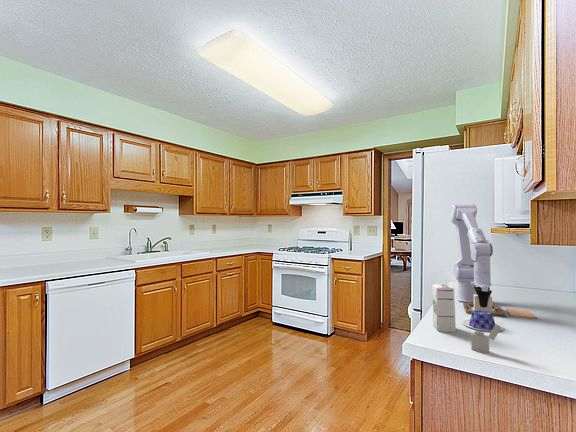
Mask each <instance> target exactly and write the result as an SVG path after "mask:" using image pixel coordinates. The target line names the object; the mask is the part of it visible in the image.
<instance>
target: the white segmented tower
mask: <svg viewBox="0 0 576 432" xmlns="http://www.w3.org/2000/svg"><path fill="white" fill-rule="evenodd" d="M455 303H456V302H455V288H454V286H453V287H452V286H451V285H450V284H444V283H443V284H441V283H439V284H432V306H433V307H432V313H433V315H432V317H433V319H432V320H433V327H434V328H435V329H436V331H438V332H445V333H446V332H447V333H456V327H457V326H456V325H457V324H456V304H455Z"/></svg>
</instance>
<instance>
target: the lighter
mask: <svg viewBox="0 0 576 432" xmlns="http://www.w3.org/2000/svg"><path fill="white" fill-rule="evenodd" d="M498 324H499V323H496V325H495V326H494V328H493V330H490V333H489V334H488V335H486V334H485V331H482V330H476V331H474V332H472V333H471V335H470V337H471V338H470V340H471V343H470V344H471V351H474V352H479V353H485V354H489V353H490V340H492V341H495V339H496V338H497V336H498V334H499V333H500V331H501V330H500V329H501V326H502V325H501V326H499V325H500V324H499V325H498Z"/></svg>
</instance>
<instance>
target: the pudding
mask: <svg viewBox="0 0 576 432" xmlns="http://www.w3.org/2000/svg"><path fill="white" fill-rule="evenodd" d="M473 310H474V309H473ZM470 315H471V316H470V319H466V320H463V321H462V324H463V325H464V326H466V327H468V328H470V329H474V330H477V331H482V332H489V331H492V330H493V328H494V326H495V325H496V324H498V325H499V326H501V329H500V331H503V330H504V327H503V326H502V325H501V324H499V323H496V322H495V321H496V320H495V318H494V316H493V315H492V313H490V312H488V311H484V310H474V311H473V312H472V314H470Z"/></svg>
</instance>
